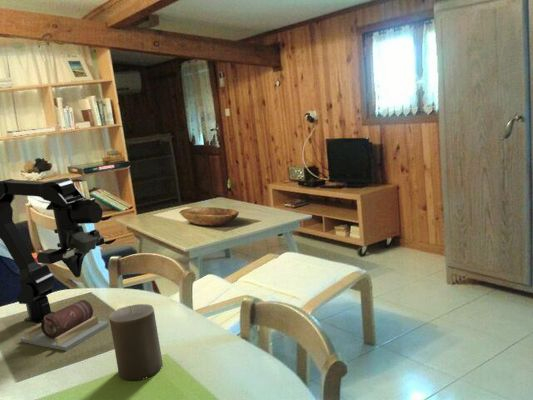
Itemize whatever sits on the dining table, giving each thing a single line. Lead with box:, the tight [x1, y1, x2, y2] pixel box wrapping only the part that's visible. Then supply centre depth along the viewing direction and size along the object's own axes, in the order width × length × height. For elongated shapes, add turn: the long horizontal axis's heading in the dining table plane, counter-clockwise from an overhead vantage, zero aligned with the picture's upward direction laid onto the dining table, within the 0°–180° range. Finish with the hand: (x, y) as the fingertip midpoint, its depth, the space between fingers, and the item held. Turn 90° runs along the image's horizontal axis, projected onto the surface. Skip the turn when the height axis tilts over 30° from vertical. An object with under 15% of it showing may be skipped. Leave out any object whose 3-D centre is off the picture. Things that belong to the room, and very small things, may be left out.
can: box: [40, 299, 94, 338], centre depth 137 cm, size 6×6×14 cm
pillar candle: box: [108, 303, 164, 381], centre depth 111 cm, size 10×10×15 cm
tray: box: [20, 316, 110, 352], centre depth 136 cm, size 18×14×3 cm
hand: (77, 277), depth 142 cm, fingers closed
